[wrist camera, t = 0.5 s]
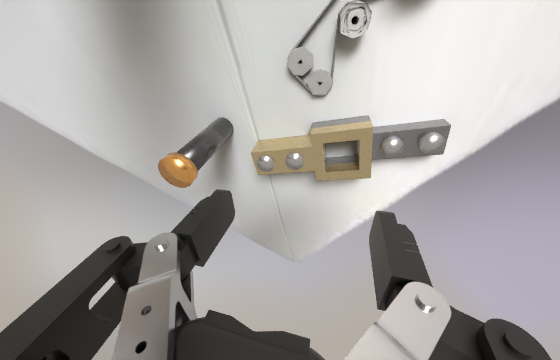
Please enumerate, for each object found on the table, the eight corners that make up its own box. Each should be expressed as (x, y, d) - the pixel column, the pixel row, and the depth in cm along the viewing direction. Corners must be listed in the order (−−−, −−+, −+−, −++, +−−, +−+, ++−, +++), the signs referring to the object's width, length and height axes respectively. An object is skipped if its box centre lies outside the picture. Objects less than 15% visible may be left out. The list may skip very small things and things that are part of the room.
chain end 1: (255, 130, 32) (246, 142, 29) (368, 115, 28) (373, 128, 24) (267, 170, 37) (260, 185, 33) (366, 163, 32) (371, 179, 28)
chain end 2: (312, 122, 30) (310, 131, 27) (447, 105, 25) (459, 113, 23) (317, 166, 34) (316, 176, 32) (434, 158, 29) (443, 169, 27)
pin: (208, 117, 33) (151, 159, 22) (230, 113, 31) (181, 156, 21) (217, 139, 35) (170, 188, 25) (238, 137, 34) (198, 186, 23)
